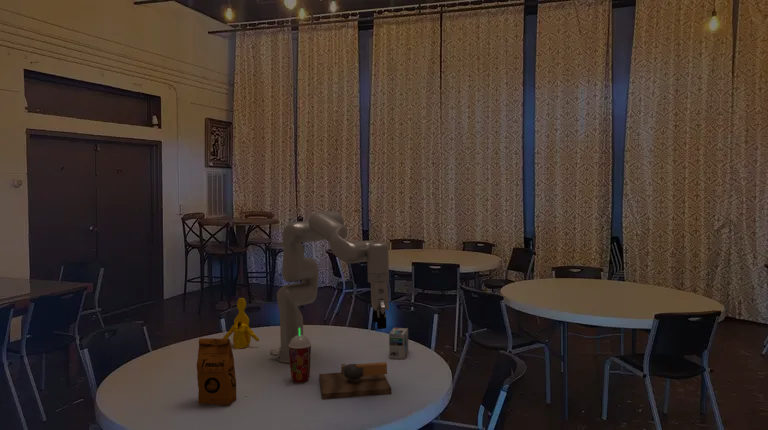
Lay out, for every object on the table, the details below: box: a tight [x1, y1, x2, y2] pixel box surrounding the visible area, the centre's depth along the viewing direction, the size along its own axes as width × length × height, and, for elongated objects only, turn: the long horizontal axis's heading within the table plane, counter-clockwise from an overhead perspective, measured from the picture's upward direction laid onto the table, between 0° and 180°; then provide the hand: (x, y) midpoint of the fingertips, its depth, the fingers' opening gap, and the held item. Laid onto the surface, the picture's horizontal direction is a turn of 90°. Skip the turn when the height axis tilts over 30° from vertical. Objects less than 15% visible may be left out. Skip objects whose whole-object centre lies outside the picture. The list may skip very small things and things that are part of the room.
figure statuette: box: [221, 297, 260, 350], centre depth 250 cm, size 18×8×22 cm, turn 89°
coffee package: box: [196, 337, 237, 406], centre depth 185 cm, size 10×12×22 cm
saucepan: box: [344, 361, 388, 379], centre depth 199 cm, size 16×7×4 cm, turn 100°
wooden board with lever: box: [318, 363, 392, 400], centre depth 199 cm, size 24×21×5 cm
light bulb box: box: [388, 327, 409, 360], centre depth 234 cm, size 11×7×11 cm, turn 168°
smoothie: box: [288, 328, 312, 384], centre depth 205 cm, size 8×8×20 cm
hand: (379, 325), depth 194 cm, fingers open, 9 cm apart
